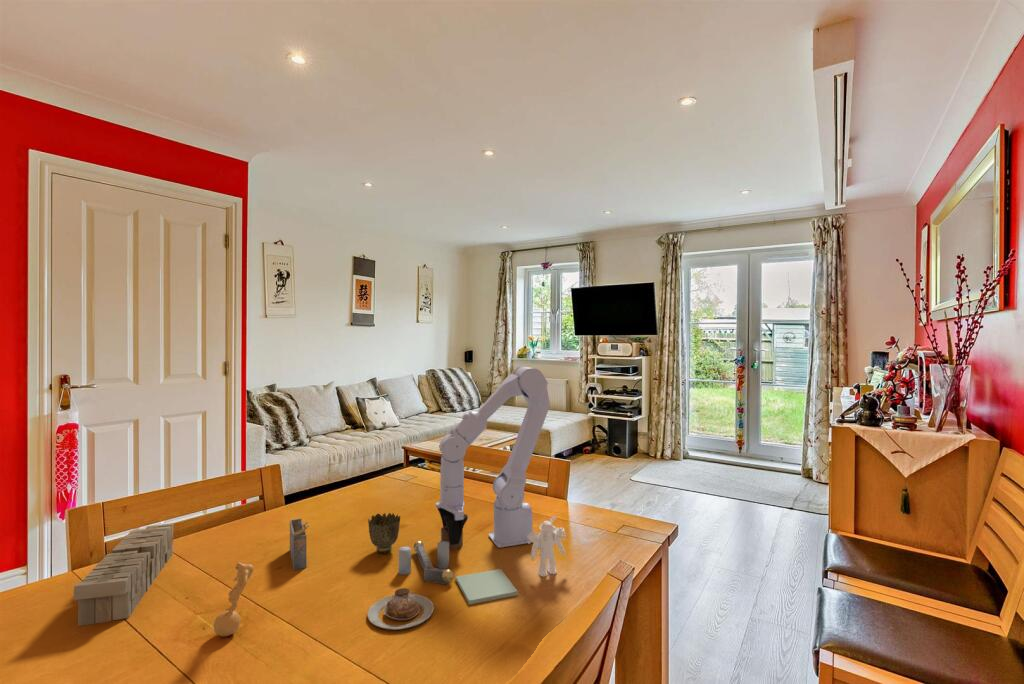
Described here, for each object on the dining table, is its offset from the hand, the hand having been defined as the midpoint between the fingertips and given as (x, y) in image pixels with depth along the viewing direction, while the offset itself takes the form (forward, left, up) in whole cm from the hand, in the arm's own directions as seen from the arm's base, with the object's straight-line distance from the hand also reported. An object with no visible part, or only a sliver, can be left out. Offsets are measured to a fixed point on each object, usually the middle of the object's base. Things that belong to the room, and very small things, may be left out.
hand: (451, 539), depth 122 cm
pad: (-2, +23, -1) cm, 23 cm away
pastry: (+16, +26, -2) cm, 30 cm away
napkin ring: (0, 0, -1) cm, 1 cm away
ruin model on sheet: (+35, -5, -2) cm, 35 cm away
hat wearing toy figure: (-16, +21, -2) cm, 26 cm away
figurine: (+44, +22, -2) cm, 49 cm away
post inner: (+4, +10, -1) cm, 11 cm away
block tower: (+66, -3, -2) cm, 66 cm away
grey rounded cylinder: (+13, +10, -1) cm, 16 cm away
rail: (+7, +10, -1) cm, 12 cm away
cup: (+16, -2, -2) cm, 16 cm away
